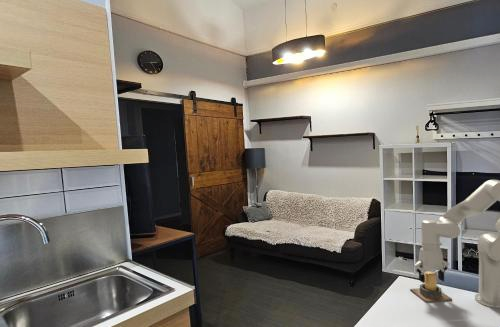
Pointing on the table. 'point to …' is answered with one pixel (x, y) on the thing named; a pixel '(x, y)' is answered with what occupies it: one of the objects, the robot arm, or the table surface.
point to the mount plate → (444, 297)
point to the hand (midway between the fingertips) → (431, 280)
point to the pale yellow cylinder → (431, 281)
